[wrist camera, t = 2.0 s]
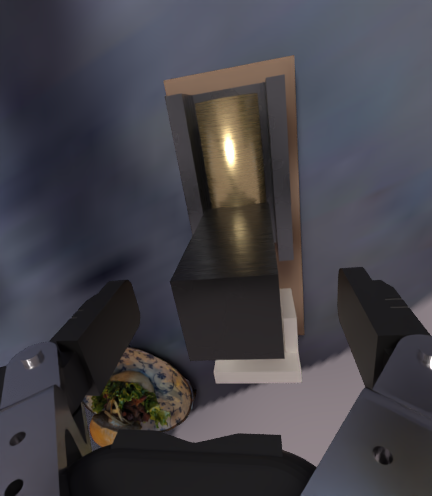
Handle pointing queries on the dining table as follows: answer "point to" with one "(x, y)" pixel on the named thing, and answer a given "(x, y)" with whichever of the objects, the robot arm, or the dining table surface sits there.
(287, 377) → the far socket
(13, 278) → the dining table surface
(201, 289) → the dark grey block
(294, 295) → the base board
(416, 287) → the dining table surface
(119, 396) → the burger
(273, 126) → the outer sleeve
